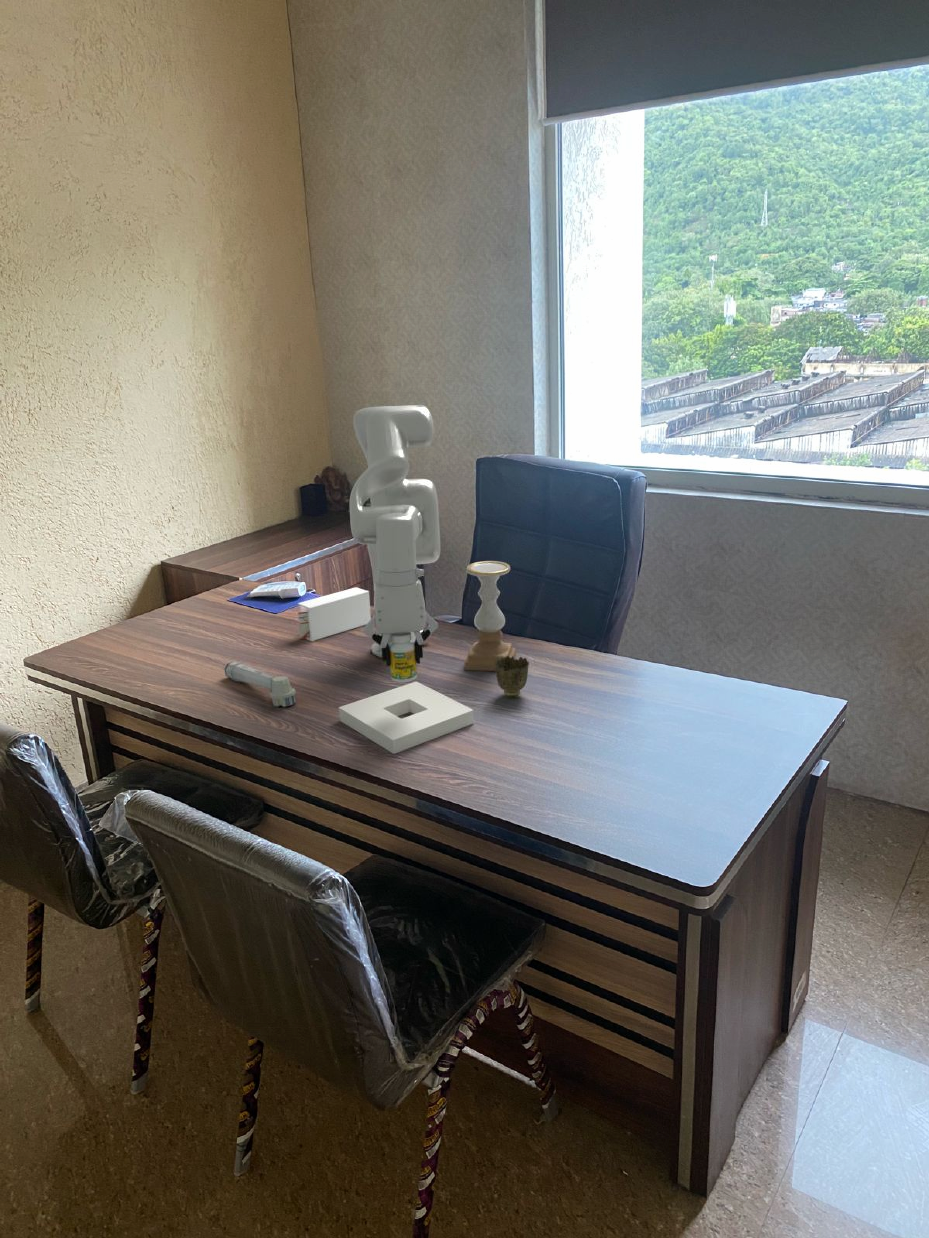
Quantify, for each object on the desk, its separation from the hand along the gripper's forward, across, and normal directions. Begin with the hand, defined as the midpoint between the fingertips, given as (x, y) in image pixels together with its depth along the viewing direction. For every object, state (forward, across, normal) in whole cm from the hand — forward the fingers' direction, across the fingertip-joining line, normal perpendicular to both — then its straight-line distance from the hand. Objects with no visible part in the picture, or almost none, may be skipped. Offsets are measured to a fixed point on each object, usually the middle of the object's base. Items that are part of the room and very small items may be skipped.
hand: (402, 661), depth 185 cm
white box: (+13, +14, -60) cm, 63 cm away
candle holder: (+13, -23, -29) cm, 39 cm away
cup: (+14, -24, -9) cm, 29 cm away
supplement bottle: (+4, 0, 0) cm, 4 cm away
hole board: (+14, 0, 0) cm, 14 cm away
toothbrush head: (+14, +31, -24) cm, 41 cm away
